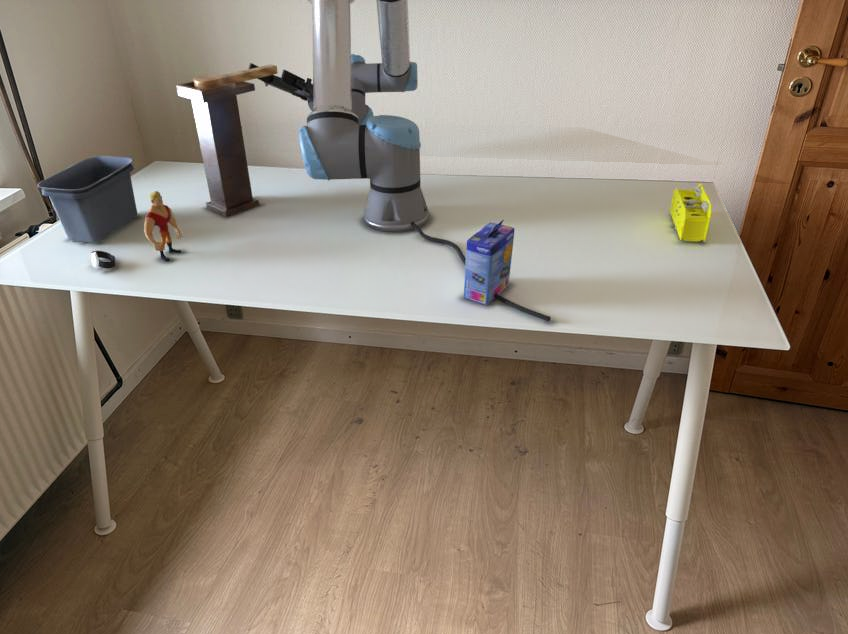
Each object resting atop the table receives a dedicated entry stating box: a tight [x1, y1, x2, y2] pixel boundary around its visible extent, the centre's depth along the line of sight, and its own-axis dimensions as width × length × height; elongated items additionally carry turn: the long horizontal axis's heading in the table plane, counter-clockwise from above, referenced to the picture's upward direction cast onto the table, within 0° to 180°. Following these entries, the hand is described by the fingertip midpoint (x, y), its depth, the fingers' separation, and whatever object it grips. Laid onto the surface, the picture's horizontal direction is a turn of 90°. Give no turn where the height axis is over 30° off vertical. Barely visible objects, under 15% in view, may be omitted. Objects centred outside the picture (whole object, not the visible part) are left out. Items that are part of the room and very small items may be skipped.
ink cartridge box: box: [463, 219, 516, 306], centre depth 127 cm, size 10×6×14 cm, turn 146°
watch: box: [90, 250, 116, 270], centre depth 147 cm, size 8×5×4 cm, turn 40°
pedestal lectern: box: [175, 80, 260, 218], centre depth 165 cm, size 14×11×30 cm
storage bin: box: [37, 155, 139, 244], centre depth 161 cm, size 21×16×14 cm
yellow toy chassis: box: [669, 182, 713, 243], centre depth 148 cm, size 16×6×8 cm, turn 168°
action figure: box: [143, 190, 184, 262], centre depth 146 cm, size 10×4×15 cm, turn 158°
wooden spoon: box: [192, 64, 278, 90], centre depth 160 cm, size 22×6×2 cm, turn 134°
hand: (265, 71), depth 165 cm, fingers open, 13 cm apart
